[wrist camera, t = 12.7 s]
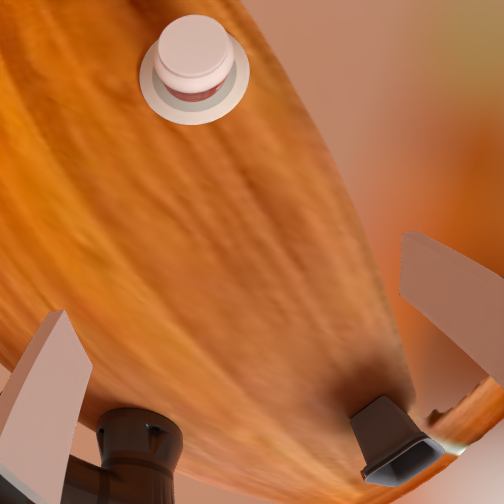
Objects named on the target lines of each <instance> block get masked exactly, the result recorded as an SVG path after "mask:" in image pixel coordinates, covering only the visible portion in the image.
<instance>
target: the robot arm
mask: <svg viewBox="0 0 504 504" xmlns="http://www.w3.org/2000/svg"><path fill="white" fill-rule="evenodd" d="M399 295H401V296H402V297H403V298H404V299H405V300H407V301H408V302H409V303H410V304H411V305H413V306H414V307H415V308H416V309H417V310H418V311H419V312H421V313H422V314H423V315H424V316H425V317H426V318H428V319H429V320H430V321H431V322H432V323H433V324H435V325H436V326H437V327H438V328H439V329H440V330H441V331H442V332H444V333H445V334H446V335H447V336H448V337H449V338H450V339H451V340H452V341H454V342H455V343H456V344H457V345H458V346H459V347H460V348H461V349H462V350H463V351H465V352H466V353H467V354H468V355H469V356H470V357H471V358H472V359H473V360H474V361H475V362H476V363H477V364H479V365H480V366H481V367H482V368H483V369H484V370H485V371H486V372H487V373H488V374H489V375H490V376H491V377H492V378H493V379H494V380H495V381H496V382H497V383H498V384H499V385H500V386H501V387H502V388H503V389H504V277H502V276H499V275H497V274H495V273H494V272H492V271H490V270H489V269H487V268H485V267H483V266H481V265H480V264H478V263H476V262H475V261H473V260H471V259H469V258H468V257H466V256H464V255H462V254H460V253H458V252H457V251H455V250H453V249H451V248H449V247H447V246H445V245H444V244H442V243H440V242H438V241H436V240H434V239H432V238H430V237H428V236H426V235H424V234H422V233H420V232H418V231H412V232H408V233H404V234H402V248H401V272H400V286H399ZM92 368H93V365H92V364H91V362H90V360H89V358H88V356H87V354H86V353H85V351H84V349H83V347H82V345H81V343H80V341H79V339H78V337H77V335H76V333H75V331H74V329H73V327H72V325H71V323H70V320H69V318H68V316H67V314H66V312H65V310H59V311H54V312H49V313H48V315H47V316H46V318H45V319H44V321H43V322H42V324H41V325H40V327H39V329H38V330H37V332H36V333H35V335H34V337H33V338H32V340H31V341H30V343H29V345H28V346H27V348H26V350H25V351H24V353H23V355H22V357H21V358H20V360H19V362H18V364H17V365H16V367H15V369H14V371H13V373H12V374H11V376H10V378H9V380H8V382H7V384H6V386H5V388H4V390H3V391H2V392H1V393H0V504H175V501H174V483H173V473H174V471H175V468H176V465H177V463H178V460H179V458H180V455H181V452H182V449H183V436H182V432H181V430H180V429H179V428H178V426H177V425H176V424H174V423H173V422H172V421H170V420H169V419H167V418H165V417H163V416H161V415H159V414H156V413H153V412H150V411H146V410H141V409H133V408H122V409H115V410H111V411H108V412H106V413H105V414H103V415H102V416H101V417H100V419H99V421H98V425H97V430H96V436H97V441H98V446H99V451H100V456H101V461H102V464H101V467H98V466H96V465H93V464H91V463H89V462H86V461H84V460H81V459H79V458H77V457H75V456H73V455H70V454H69V453H70V449H71V444H72V440H73V436H74V432H75V428H76V424H77V420H78V416H79V413H80V409H81V405H82V402H83V398H84V395H85V391H86V388H87V384H88V381H89V378H90V375H91V371H92Z"/></svg>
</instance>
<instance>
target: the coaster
mask: <svg viewBox="0 0 504 504" xmlns="http://www.w3.org/2000/svg"><path fill="white" fill-rule="evenodd" d="M226 33H227V32H226ZM227 34H228V33H227ZM228 36H229V37H230V39H231V41H232V43H233V46H234V62H233V65H232V68H231V70H230V72H229V74H228V76H227V78H226V80H225V82H224V84H223V85H222V87H221V88H220V90H219V91H218V92H217V93H216V94H215V95H213V96H212V97H210V98H208V99H206V100H204V101H200V102H185V101H182V100H179V99H177V98H175V97H174V96H173V95H171V94H170V93H169V91H168V90H167V89H166V87H165V86H164V84H163V83H162V81H161V80H160V78H159V77H158V75H157V73H156V71H155V68H154V64H153V52H154V48H155V45H156V43H157V41H158V40H156V41H155V42H154V44H153V45H152V46H151V47H150V48H149V50H148V51H147V53H146V55H145V56H144V59H143V61H142V64H141V68H140V76H139V77H140V87H141V91H142V94H143V96H144V98H145V100H146V102H147V103H148V104H149V106H150V107H151V108H152V109H153V110H154V111H155V112H156V113H157V114H159V115H160V116H162V117H163V118H165V119H167V120H169V121H172V122H175V123H179V124H184V125H198V124H204V123H209V122H211V121H214V120H216V119H218V118H221V117H222V116H224V115H225V114H227V113H228V112H229V111H231V110H232V109H233V108H234V107H235V106H236V105H237V104H238V103H239V101H240V100H241V98H242V97H243V95H244V93H245V91H246V88H247V86H248V82H249V74H250V71H249V62H248V59H247V56H246V53H245V51H244V49H243V48H242V46H241V45H240V44H239V42H238V41H237V40H236V39H235V38H234V37H232V36H231V35H230V34H228Z"/></svg>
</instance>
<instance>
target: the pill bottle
mask: <svg viewBox="0 0 504 504" xmlns="http://www.w3.org/2000/svg"><path fill="white" fill-rule="evenodd" d="M233 62H234V46H233V43H232V41H231V39H230V37H229V36H228V34H227V33H226V31H225V29H224V28H223V26H222V25H221V24H220V23H219V22H217V21H216V20H214V19H212V18H210V17H208V16H204V15H187V16H183V17H180V18H178V19H176V20H174V21H173V22H171V23H170V24H169V25H168V26H167V27H166V28H165V29H164V30H163V32H162V33H161V35H160V38H159V39H158V41H157V43H156V45H155V48H154V52H153V64H154V68H155V71H156V73H157V75H158V77H159V78H160V80H161V81H162V83H163V84H164V86H165V87H166V89H167V90H168V91H169V93H170V94H171V95H173V96H174V97H175V98H177V99H179V100H182V101H185V102H200V101H204V100H206V99H208V98H210V97H212V96H213V95H215V94H216V93H217V92H218V91H219V90H220V88H221V87H222V85H223V84H224V82H225V80H226V78H227V76H228V74H229V72H230V70H231V68H232V65H233Z"/></svg>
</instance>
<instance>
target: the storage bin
mask: <svg viewBox="0 0 504 504" xmlns="http://www.w3.org/2000/svg"><path fill="white" fill-rule="evenodd" d="M350 423H351V426H352V428H353V431H354V433H355V436H356V438H357V441H358V443H359V446H360V448H361V451H362V453H363V456H364V459H365V461H366V464H367V465H366V466H365V467H364V469H363V470H361V471H360V473H361V475H362V477H363V480H364V481H365V482H368V483H373V484H378V485H383V486H390V487H396V486H399V485H401V484H403V483H405V482H407V481H408V480H410V479H412V478H413V477H415V476H416V475H418V474H419V473H420V472H422V471H423V470H425V469H426V468H428V467H429V466H430V465H432V464H433V463H435V462H436V461H437V460H438V459H439V458H440V457H441V456H442V455H443V454H444V452H445V449H444V448H443V447H442V446H441V445H439V444H438V443H436V442H435V441H434V440H432V439H431V438H430V437H429V436H427V435H426V434H425V433H424V432H422V431H421V430H420V429H419V428H418V427H417V425H416V424H415V423H414V422H413V420H412V419H411V418H410V416H409V415H407V414H406V413H405V412H404V411H403V410H402V409H401V408H399V407H398V406H397V405H396V404H395V403H393V402H392V401H391V400H390V399H389V398H388V397H387V396H381V397H379V398H378V399H377V400H375V401H374V402H373V403H371V404H370V405H369V406H367V407H366V408H365V409H363V410H362V411H361V412H359V413H358V414H357V415H355V416H354V417H353V418H352V419H351V420H350ZM363 473H364V474H365V475H366V478H365V476H364V474H363Z"/></svg>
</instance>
